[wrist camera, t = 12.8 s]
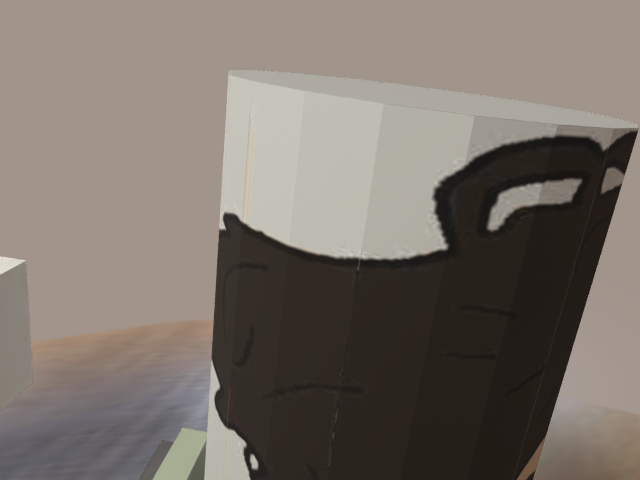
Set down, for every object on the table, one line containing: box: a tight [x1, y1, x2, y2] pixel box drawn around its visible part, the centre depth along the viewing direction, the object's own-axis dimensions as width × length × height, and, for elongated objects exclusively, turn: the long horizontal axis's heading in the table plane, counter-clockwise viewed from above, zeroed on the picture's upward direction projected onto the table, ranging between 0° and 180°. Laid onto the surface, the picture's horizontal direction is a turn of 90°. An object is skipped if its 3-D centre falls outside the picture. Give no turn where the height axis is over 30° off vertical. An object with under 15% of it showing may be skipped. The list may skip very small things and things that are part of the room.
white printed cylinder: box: [204, 70, 639, 480], centre depth 12 cm, size 7×7×15 cm
